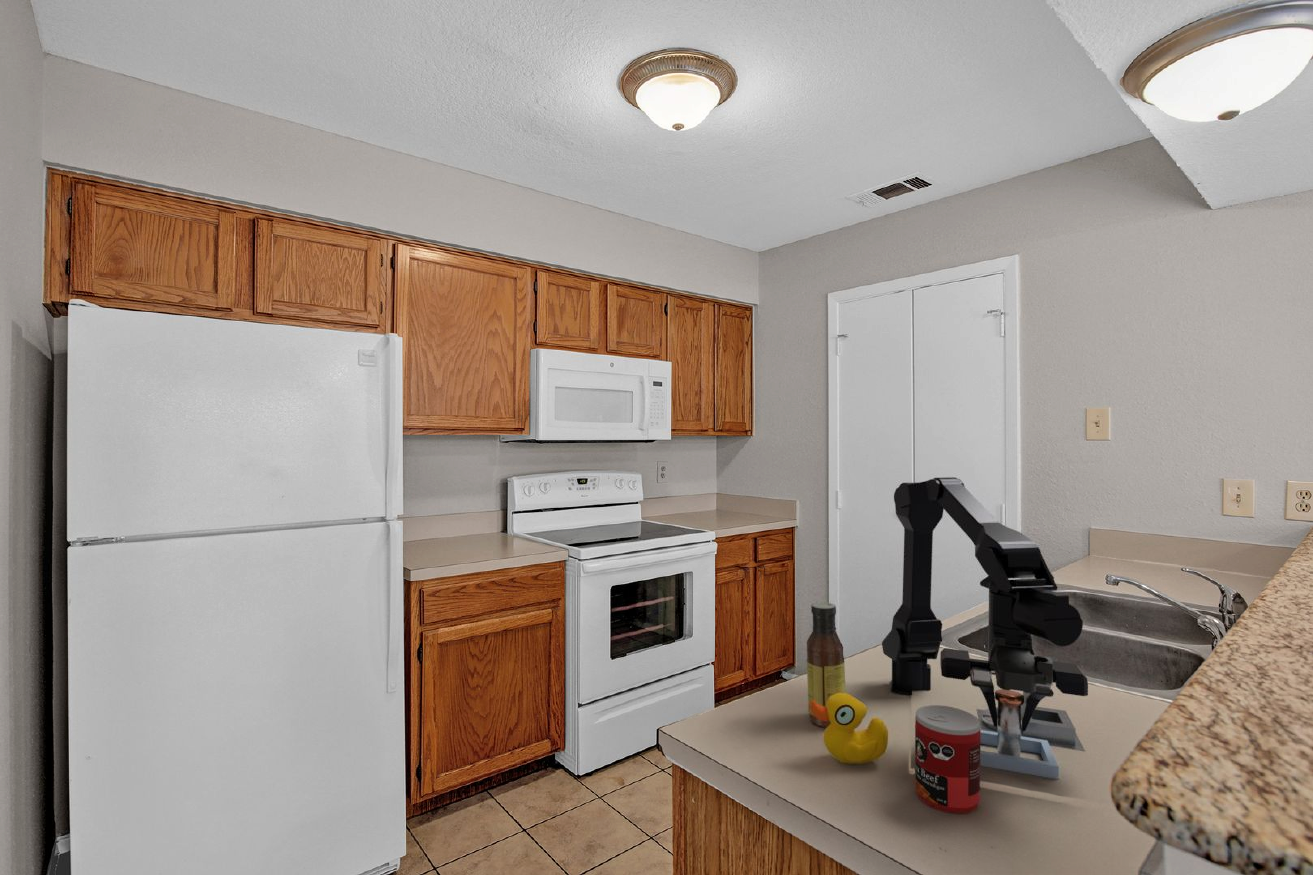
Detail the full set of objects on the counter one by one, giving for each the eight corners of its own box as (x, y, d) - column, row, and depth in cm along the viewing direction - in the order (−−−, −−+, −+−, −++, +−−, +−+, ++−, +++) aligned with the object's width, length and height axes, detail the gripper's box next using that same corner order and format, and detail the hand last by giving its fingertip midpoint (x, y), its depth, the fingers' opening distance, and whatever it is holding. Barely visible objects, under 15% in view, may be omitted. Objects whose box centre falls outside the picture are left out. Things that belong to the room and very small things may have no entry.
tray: (969, 768, 93) (969, 751, 93) (965, 742, 101) (965, 727, 101) (1058, 784, 89) (1058, 766, 89) (1047, 756, 97) (1047, 740, 97)
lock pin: (996, 756, 94) (996, 697, 94) (993, 744, 98) (993, 687, 97) (1025, 761, 93) (1026, 701, 92) (1021, 749, 96) (1022, 691, 96)
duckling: (812, 768, 93) (812, 700, 93) (807, 750, 99) (807, 686, 99) (892, 772, 92) (892, 703, 92) (882, 753, 98) (883, 688, 98)
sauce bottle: (848, 717, 110) (849, 602, 110) (843, 733, 104) (843, 611, 104) (810, 710, 113) (810, 598, 112) (802, 725, 107) (803, 607, 107)
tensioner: (982, 739, 102) (982, 718, 102) (976, 713, 112) (976, 694, 111) (1085, 756, 97) (1085, 734, 97) (1070, 727, 106) (1070, 707, 106)
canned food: (904, 783, 89) (905, 705, 89) (959, 780, 90) (959, 703, 90) (932, 816, 82) (933, 731, 82) (992, 813, 82) (993, 728, 82)
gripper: (943, 631, 91) (942, 740, 91) (1099, 649, 84) (1097, 766, 84) (940, 611, 101) (939, 708, 101) (1079, 625, 94) (1077, 730, 94)
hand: (1009, 727), depth 95 cm, fingers open, 3 cm apart
